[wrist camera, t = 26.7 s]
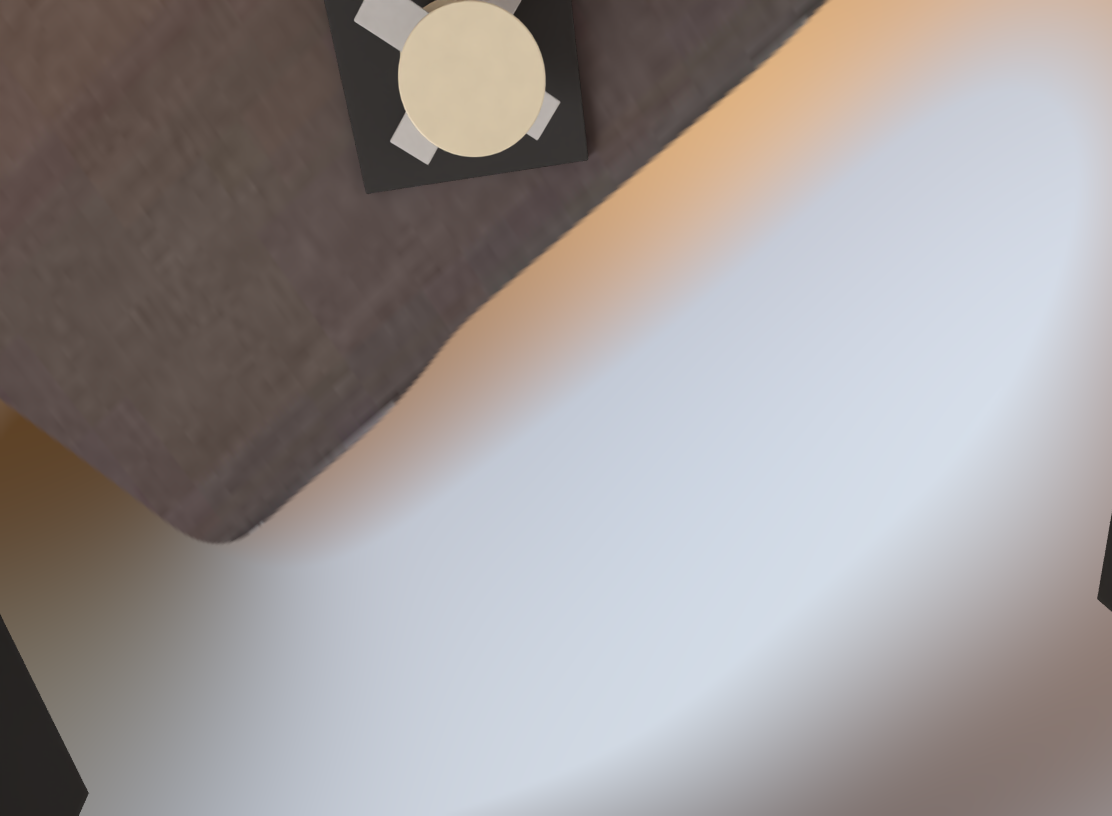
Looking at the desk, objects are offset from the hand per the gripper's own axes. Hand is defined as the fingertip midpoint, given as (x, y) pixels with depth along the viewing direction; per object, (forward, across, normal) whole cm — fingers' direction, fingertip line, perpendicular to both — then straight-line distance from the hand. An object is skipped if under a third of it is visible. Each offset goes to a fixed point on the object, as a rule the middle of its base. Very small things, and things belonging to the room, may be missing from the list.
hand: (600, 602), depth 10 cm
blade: (+31, 0, +5) cm, 31 cm away
